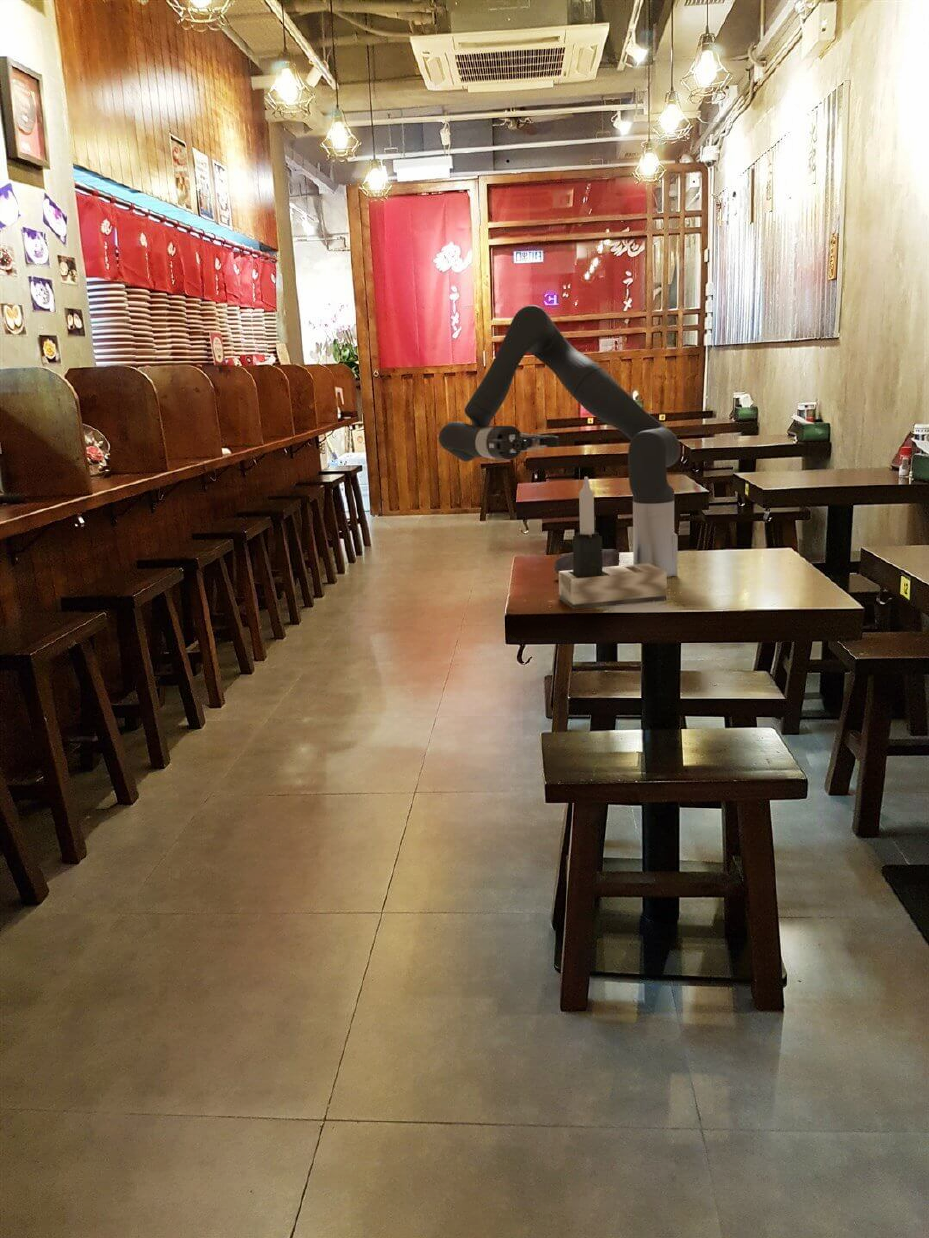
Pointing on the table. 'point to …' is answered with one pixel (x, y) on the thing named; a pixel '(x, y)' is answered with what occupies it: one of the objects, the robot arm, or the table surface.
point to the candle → (587, 538)
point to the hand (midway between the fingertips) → (542, 443)
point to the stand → (614, 586)
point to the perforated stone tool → (608, 559)
